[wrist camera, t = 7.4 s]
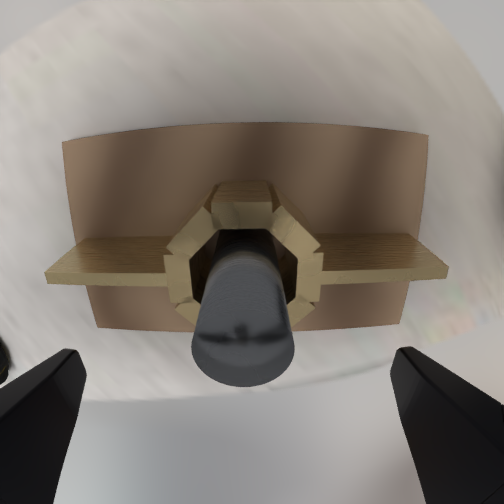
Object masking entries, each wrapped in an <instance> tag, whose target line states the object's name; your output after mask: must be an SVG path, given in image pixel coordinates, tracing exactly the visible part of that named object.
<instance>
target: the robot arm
mask: <svg viewBox="0 0 504 504" xmlns="http://www.w3.org/2000/svg"><path fill="white" fill-rule="evenodd" d="M86 376H87V375H86V369H85V367H84V365H83V362H82V360H81V357H80V355H79V353H78V351H77V350H74V349H63V350H61V351H59V352H58V353H56V354H55V355H53V356H51V357H50V358H48V359H47V360H45V361H43V362H42V363H40V364H39V365H37V366H35V367H34V368H32V369H31V370H29V371H27V372H26V373H24V374H23V375H21V376H19V377H18V378H16V379H15V380H13V381H11V382H10V383H8V384H7V385H5V386H4V387H2V388H0V504H53V502H54V498H55V493H56V489H57V485H58V482H59V478H60V474H61V470H62V467H63V463H64V460H65V456H66V453H67V449H68V446H69V443H70V440H71V437H72V433H73V430H74V427H75V424H76V420H77V416H78V412H79V408H80V403H81V399H82V394H83V390H84V386H85V382H86ZM390 377H391V381H392V385H393V389H394V394H395V398H396V402H397V407H398V411H399V415H400V419H401V423H402V426H403V429H404V432H405V435H406V438H407V441H408V445H409V448H410V451H411V454H412V457H413V460H414V463H415V466H416V470H417V473H418V477H419V480H420V483H421V487H422V491H423V494H424V497H425V501H426V504H504V405H503V404H502V405H501V403H500V402H498V401H497V400H495V399H494V398H492V397H491V396H489V395H487V394H486V393H484V392H483V391H481V390H480V389H478V388H476V387H475V386H473V385H472V384H470V383H468V382H467V381H465V380H464V379H462V378H461V377H459V376H458V375H456V374H454V373H453V372H451V371H450V370H448V369H447V368H445V367H443V366H442V365H440V364H439V363H437V362H436V361H434V360H432V359H431V358H429V357H428V356H426V355H424V354H423V353H421V352H420V351H418V350H417V349H415V348H413V347H411V346H409V347H402V348H399V349H398V350H397V352H396V354H395V358H394V361H393V364H392V367H391V370H390Z"/></svg>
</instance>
